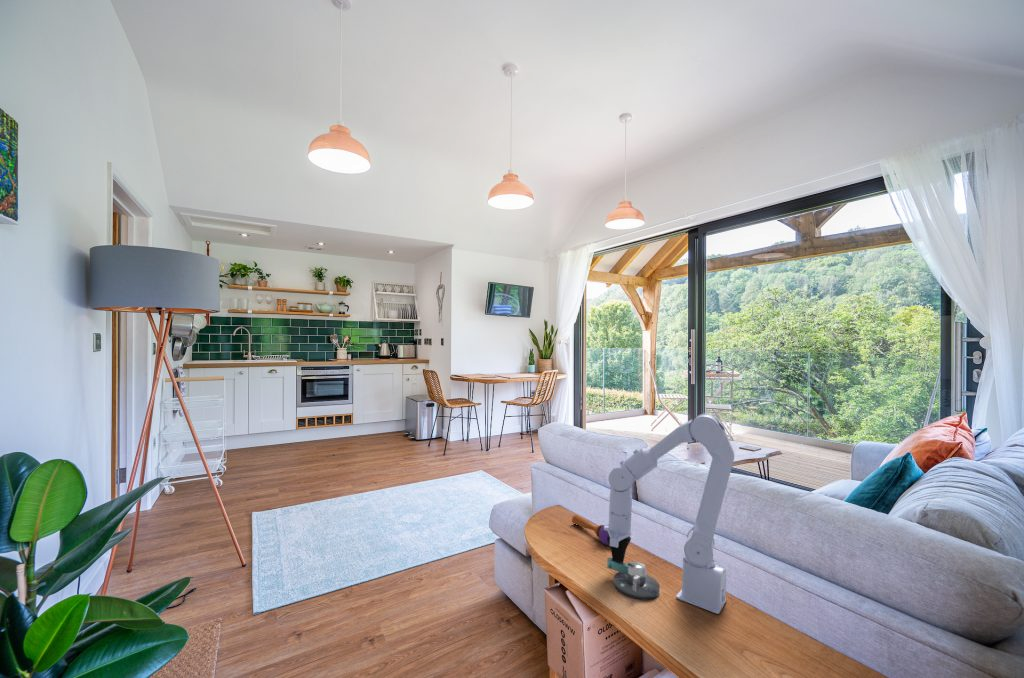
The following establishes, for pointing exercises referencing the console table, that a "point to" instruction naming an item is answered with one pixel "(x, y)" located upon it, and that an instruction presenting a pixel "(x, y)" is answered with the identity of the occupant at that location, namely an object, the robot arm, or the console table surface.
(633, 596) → the post plate
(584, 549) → the console table surface
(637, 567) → the teal ball-top lever
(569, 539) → the console table surface
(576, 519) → the purple maraca
